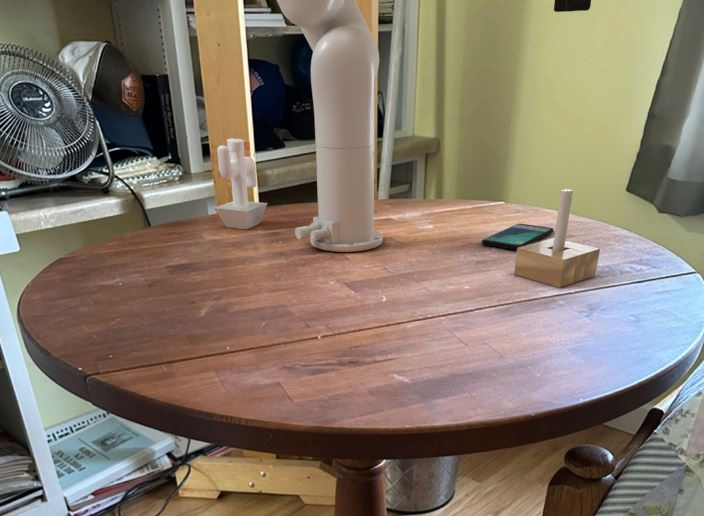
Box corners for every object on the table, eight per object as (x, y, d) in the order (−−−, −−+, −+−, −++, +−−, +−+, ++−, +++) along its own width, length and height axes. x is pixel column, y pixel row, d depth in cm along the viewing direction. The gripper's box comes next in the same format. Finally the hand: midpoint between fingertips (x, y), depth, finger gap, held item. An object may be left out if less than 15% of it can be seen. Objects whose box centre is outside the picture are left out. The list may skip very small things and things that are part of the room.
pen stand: (559, 287, 100) (564, 259, 98) (513, 274, 105) (517, 247, 103) (595, 276, 104) (600, 248, 102) (549, 263, 110) (553, 237, 107)
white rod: (555, 277, 104) (568, 191, 97) (546, 275, 105) (558, 190, 98) (562, 275, 105) (575, 190, 98) (553, 273, 106) (566, 188, 99)
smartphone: (555, 228, 125) (518, 246, 115) (554, 232, 125) (518, 251, 115) (518, 222, 128) (479, 240, 118) (518, 227, 129) (479, 244, 119)
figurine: (271, 221, 136) (266, 136, 127) (245, 233, 128) (237, 143, 120) (240, 218, 138) (232, 134, 130) (212, 229, 131) (202, 141, 123)
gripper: (550, -134, 98) (535, 12, 107) (573, -161, 84) (554, 11, 93) (605, -137, 97) (585, 11, 107) (638, -164, 83) (612, 9, 92)
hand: (570, 11), depth 100 cm, fingers open, 9 cm apart
